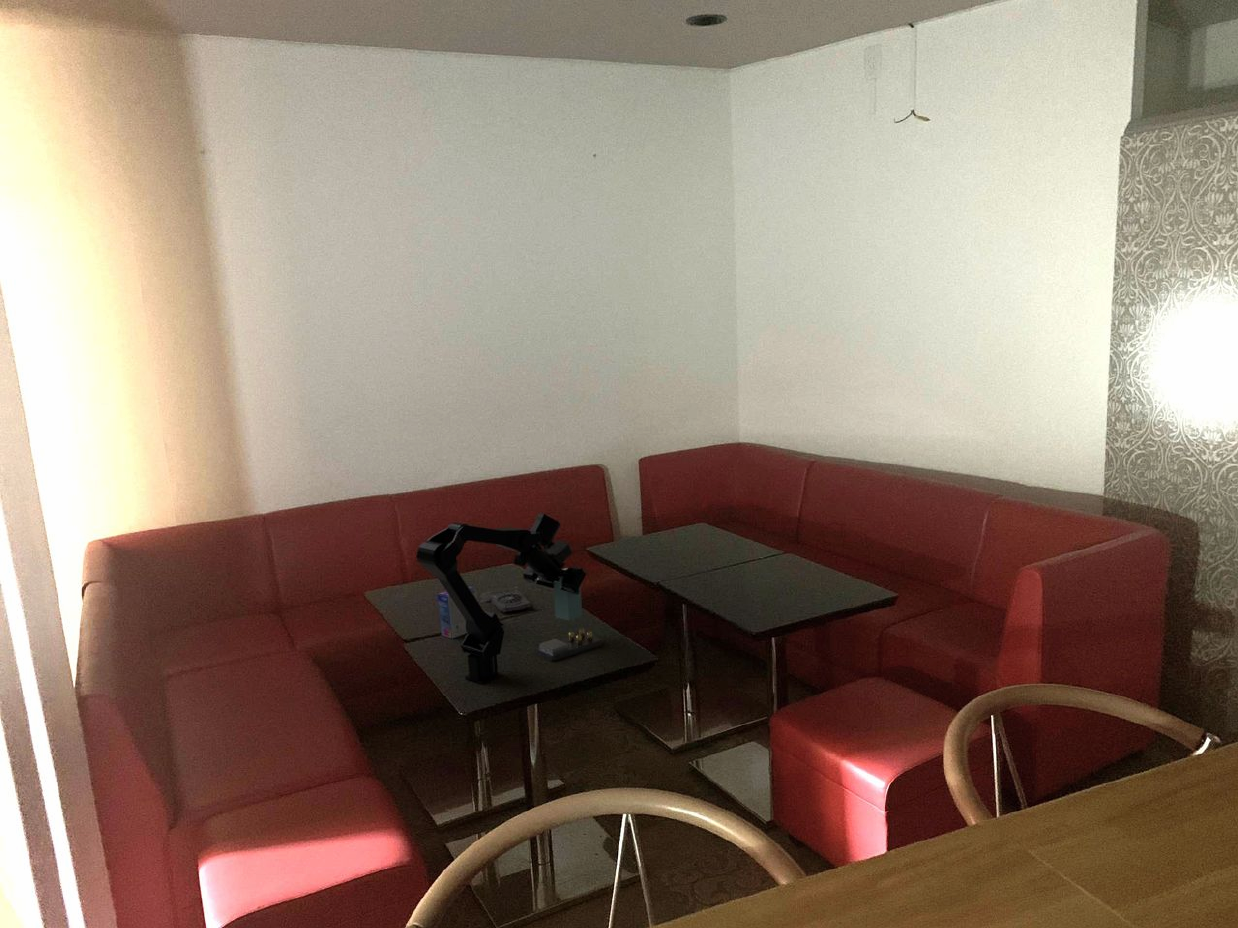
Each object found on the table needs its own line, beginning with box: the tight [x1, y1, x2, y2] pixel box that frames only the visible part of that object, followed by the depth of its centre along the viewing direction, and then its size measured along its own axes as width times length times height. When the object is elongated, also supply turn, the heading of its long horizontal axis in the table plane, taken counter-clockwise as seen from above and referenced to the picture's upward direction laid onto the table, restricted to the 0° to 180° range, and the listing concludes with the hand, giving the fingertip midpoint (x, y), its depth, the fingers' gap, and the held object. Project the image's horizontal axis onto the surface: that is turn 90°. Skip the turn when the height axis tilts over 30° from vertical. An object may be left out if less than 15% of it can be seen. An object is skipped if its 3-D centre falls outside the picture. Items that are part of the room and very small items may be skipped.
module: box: [553, 567, 583, 621], centre depth 250 cm, size 5×5×12 cm
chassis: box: [533, 627, 603, 662], centre depth 246 cm, size 16×8×4 cm, turn 129°
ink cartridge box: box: [436, 584, 478, 639], centre depth 262 cm, size 10×6×14 cm, turn 137°
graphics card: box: [480, 586, 531, 613], centre depth 284 cm, size 17×4×12 cm
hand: (571, 591), depth 251 cm, fingers closed on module, 5 cm apart
